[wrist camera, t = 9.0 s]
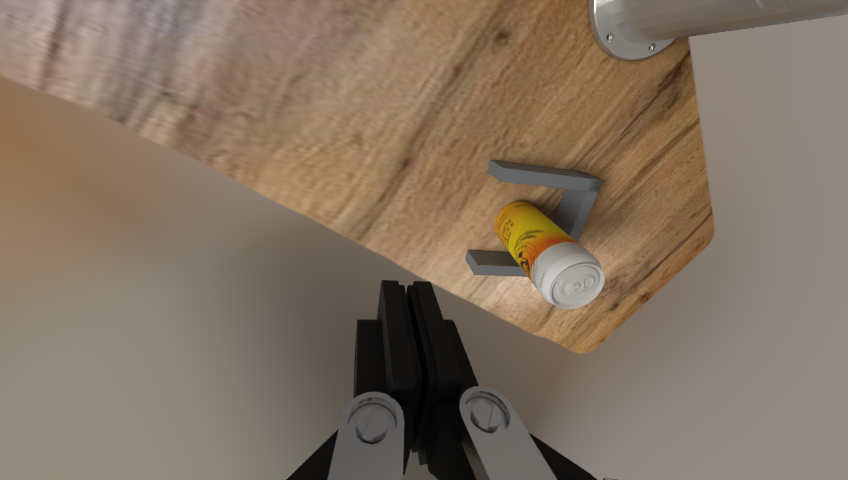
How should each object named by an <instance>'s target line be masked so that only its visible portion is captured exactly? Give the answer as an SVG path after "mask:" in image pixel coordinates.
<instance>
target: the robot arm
mask: <svg viewBox="0 0 848 480" xmlns="http://www.w3.org/2000/svg"><path fill="white" fill-rule="evenodd" d="M845 14H848V0H589V18H590V24H591V28H592V32H593V35H594V37H595V39H596V41H597V43H598V44H599V45H600V47H601V48H602V49H603V51H605V52H606V53H607V54H609V55H610V56H612V57H614V58H617V59H620V60H639V59H643V58H647V57H650V56H652V55H654V54H656V53H658V52H660V51H661V50H663V49H664V48H665V47H667V46H668V45H669V44H670V43H671V42H673V41H674V40H675V39H676V38H681V37H688V36H696V35H703V34H710V33H718V32H724V31H731V30H739V29H746V28H754V27H761V26H768V25H775V24H783V23H790V22H798V21H804V20H812V19H818V18H825V17H832V16H840V15H845ZM410 449H411V450H412V453H413V452H418V456H419V464H420V465H422V464H428V470H429V472H430V473H431V474H433V475H434V476H435V477H436V478H437V480H597V479H596V478H594V477H593V476H592V475H591V474H590V473H588V472H587V471H585V470H584V469H582V468H581V467H579V466H578V465H576V464H575V463H573V462H572V461H570V460H569V459H567V458H566V457H564V456H563V455H561V454H560V453H558V452H557V451H555V450H554V449H552V448H551V447H549V446H548V445H547V444H545V443H544V442H542V441H541V440H539V439H538V438H536V437H535V436H533V435H532V434H530V433H529V432H527V430H526V428H525V427H524V425H523V423H522V422H521V420H520V418H519V417H518V415H517V413H516V412H515V410H514V408H513V407H512V405H511V404H510V403H509V401H508V400H507V399H506V398H505V397H504V396H503V395H502V394H500V393H499V392H497V391H495V390H493V389H491V388H488V387H484V386H478V383H477V381H476V378H475V375H474V373H473V370H472V367H471V365H470V362H469V359H468V357H467V354H466V352H465V349H464V347H463V344H462V341H461V338H460V336H459V333H458V331H457V328H456V325H455V323H454V322H453V320H443V317H442V314H441V311H440V308H439V305H438V302H437V299H436V296H435V293H434V291H433V288H432V285H431V282H422V281H414V283H413V285H408V287H407V293H406V292H405V287H404V285H399V283H398V281H389V280H382V282H381V289H380V297H379V305H378V314H377V320H357V329H356V343H355V363H354V399H353V400H351V401H350V403H349V404H348V405H347V406H346V408H345V409H344V412H343V415H342V417H341V421H340V426H339V429H338V430H337V431H336V432H335V433H334V434H333V435H332V436H331V437H330V438H329V439H328V440H327V441H326V442H325V443H324V444H323V445H322V446H321V447H320V448H319V449H318V450H316V452H314V454H312V456H310V457H309V458H308V459H307V460H306V461H305V462H304V463H303V464H302V465H301V466H300V467H299V468H298V469H297V470H296V471H295V472H294V473H293V474H292V475H291V476H290V477H289V478H288V479H287V480H403V476H404V474H405V471H406V467H407V462H408V458H409V453H410ZM603 480H616V479H610V478H604V479H603Z"/></svg>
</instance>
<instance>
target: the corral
mask: <svg viewBox="0 0 848 480" xmlns="http://www.w3.org/2000/svg"><path fill="white" fill-rule="evenodd" d="M487 172H488V173H489V174H491V175H492V176H493V177H495V178H496V179H498V180H499V181H502V182H511V183H520V184H529V185H538V186H546V187H555V188H564V189H565V192H564V194H563V197H562V200H561V203H560V205H559V208H558V211H557V213H556V216H555V219H554V221H553V223H554V224H556V225H557V226H558V227H559V228H560V229H562V230H563V231H564V232H565V233H566V234H568V235H569V236H570V237H571V238H572V239H574V240H575V241H576V242H578V239H579V237H580V234H581V232H582V230H583V227H584V225H585V223H586V220H587V218H588V215H589V213H590V211H591V208H592V206H593V204H594V201H595V199H596V196H597V194H598V192H599V189H600V187H601V185H602V182H603V180H601V179H599V178H596V177H594V176H591V175H589V174H586V173H584V172H580V171H573V170H565V169H557V168H549V167H542V166H534V165H526V164H519V163H511V162H503V161H495V160H490V163H489V167H488V171H487ZM466 261H467V263H468V264H469V266H470V268H471V270H472V271H473V273H474V275H494V276H522V277H528V276H527V275H526V273H525V272H524V271H523V269H522V268H521V267H520V265H519V264H518V263H517V262H516V260H515V259H514V258H513V256H512V255H511V254H510V252H498V251H480V250H468V251H467V255H466Z"/></svg>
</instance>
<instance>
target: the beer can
mask: <svg viewBox="0 0 848 480" xmlns="http://www.w3.org/2000/svg"><path fill="white" fill-rule="evenodd" d="M494 229H495V233H496V235H497V236H498V238H499V239H500V240H501V242H502V243H503V244H504V246H505V247H506V248H507V250H508V251H509V252H510V254H511V255H512V256H513V258H514V259H515V260H516V262H517V263H518V264H519V265H520V267H521V268H522V269H523V271H524V272H525V273H526V275H527V276H528V277H529V279H530V280H531V281H532V283H533V284H534V285H535V287H536V288H537V289H538V291H539V292H540V293H541V295H542V296H543V297H544V299H545V300H547V301H548V302H550V303H552V304H554V305H556V306H557V307H559V308H562V309H575V308H579V307H581V306H584V305H586V304H587V303H589V302H590V301H592V300H593V299H594V298H595V297H596V296H597V295H598V294H599V293H600V291H601V289H602V288H603V285H604V281H605V275H604V272H603V271H602V269H601V266H600V263H599V261H598V260H597V259H596V258H595V257H594V256H593V255H592V254H590V253H589V252H588V251H587V250H586V249H584V248H583V247H582V246H581V245H580V244H578V243H577V242H576V241H575V240H574V239H572V238H571V237H570V236H569V235H568V234H566V233H565V232H564V231H563V230H562V229H560V228H559V227H558V226H557V225H556V224H554V223H553V222H552V221H551V220H550V219H549V218H547V217H546V216H545V215H544V214H543V213H541V212H540V211H539V210H538V209H537V208H535V207H534V206H533V205H532V204H530V203H528V202H524V201H518V202H514V203H511V204H509V205H507V206H506V207H504V208H503V209H502V210H501V211H500V212H499V214H498V215H497V217H496V220H495V224H494Z"/></svg>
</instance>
